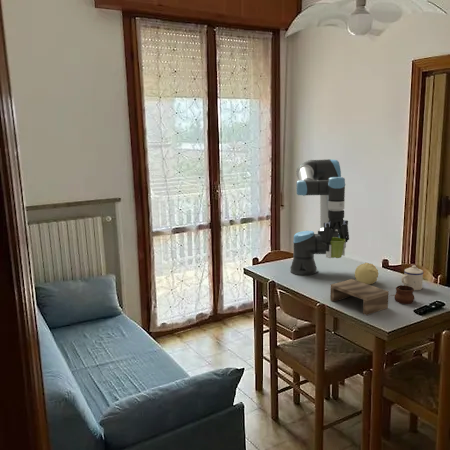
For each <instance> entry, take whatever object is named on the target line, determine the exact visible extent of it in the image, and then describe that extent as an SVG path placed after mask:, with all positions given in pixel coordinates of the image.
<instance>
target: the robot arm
mask: <svg viewBox="0 0 450 450" xmlns="http://www.w3.org/2000/svg"><path fill="white" fill-rule="evenodd" d="M296 178H297V179H298V180H297V181H296V195H297V196H303V197H305V196H319V200H320V201H319V202H320V203H319V204H320V206H319V208H320V211H319V213H320V214H319V215H320V221H319V222H320V225H319V229H318V230H317V233H315V232H314V230H303V231H298V232H296V233H295V234H294V235H293V241H292V243H293V251H292V252H293V253H292V254H293V257H292V258H293V259H292V260H291V261H292V262H291V265H290V268H289V269H290V272H291V273H292V274H294V275H298V276H299V275H300V276H309V275H314V274H316V273H317V272H318V268H317V265H316V262H315V255H325V258H328V259H332V258H331V245H330V241H331V239H332V237H338V238H341V239H346V241H345V242H344V245H343V251H342V256H345V255H346V247H347V243H348V241H349V240H350V235H349V226H348V225H349V221H348V220H346V219H344V218H345V197H346V196H345V195H346V194H345V190H346V179H345V177H343V176H342V170H341V165H340V162H339V161H338V160H337V159H310V160H306V161H303V162H302V163H301V164H300V165H299V166H298V167H297V168H296Z"/></svg>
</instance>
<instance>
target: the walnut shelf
mask: <svg viewBox="0 0 450 450" xmlns="http://www.w3.org/2000/svg"><path fill="white" fill-rule="evenodd" d="M389 293H390V292H389V291H388V290H386V289H384V288H381V287H377V286H374V285H372V284H365V283H362V282H359V281H357V280H356V279H354V278H350V279H346V280H342V281H339V282H335V283H332V284H330V298H329V299H330V302H337V301H340V300H341V301H342V300H344V299H347V298H351V297H355V298H358V299H361V300H363V304H362V305H363V307H362V314H363V315H366V316H368V315H371V314H374V313H377V312H380V311H383V310H386V309H388V308H389V296H390V295H389Z"/></svg>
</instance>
